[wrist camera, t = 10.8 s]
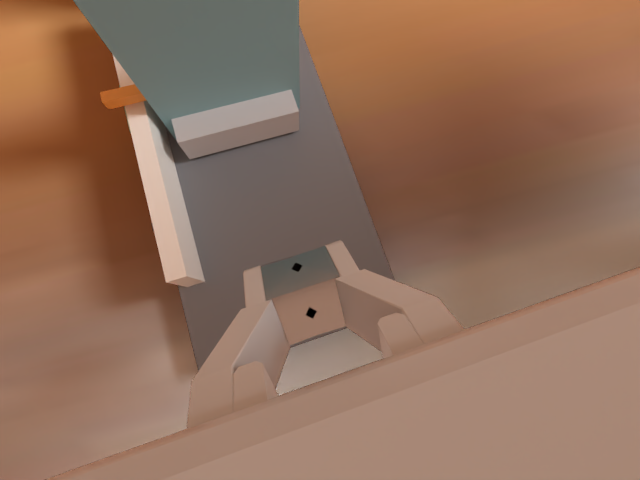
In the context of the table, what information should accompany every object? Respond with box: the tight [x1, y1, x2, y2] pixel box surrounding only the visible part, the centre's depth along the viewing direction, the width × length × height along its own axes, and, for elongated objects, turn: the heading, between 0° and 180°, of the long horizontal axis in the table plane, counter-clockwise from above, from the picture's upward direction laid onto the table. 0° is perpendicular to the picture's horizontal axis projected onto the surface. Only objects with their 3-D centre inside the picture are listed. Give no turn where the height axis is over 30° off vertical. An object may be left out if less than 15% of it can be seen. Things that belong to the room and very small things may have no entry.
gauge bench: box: [113, 26, 395, 371], centre depth 17 cm, size 12×30×12 cm, turn 18°
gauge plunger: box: [73, 0, 300, 159], centre depth 16 cm, size 10×5×10 cm, turn 108°
